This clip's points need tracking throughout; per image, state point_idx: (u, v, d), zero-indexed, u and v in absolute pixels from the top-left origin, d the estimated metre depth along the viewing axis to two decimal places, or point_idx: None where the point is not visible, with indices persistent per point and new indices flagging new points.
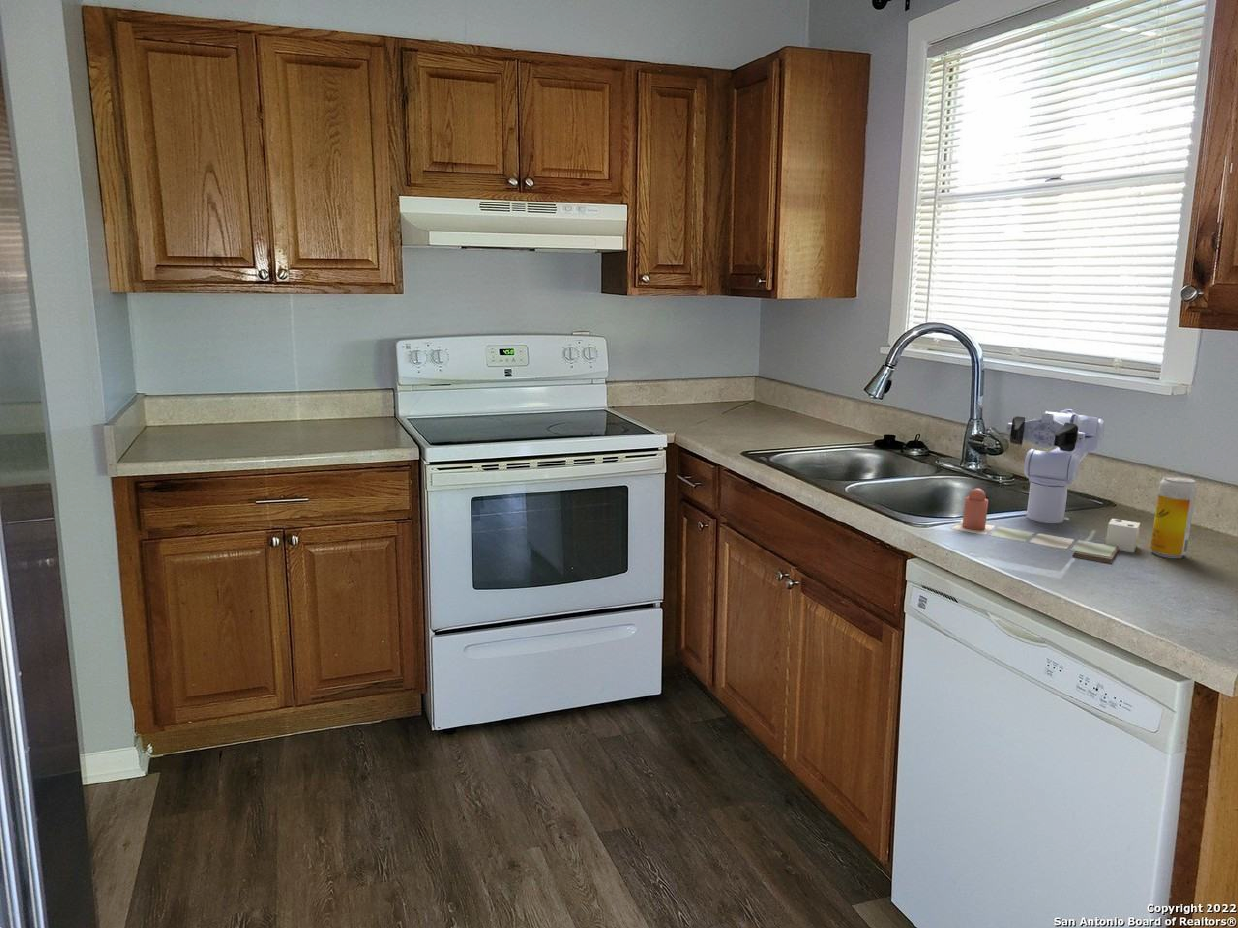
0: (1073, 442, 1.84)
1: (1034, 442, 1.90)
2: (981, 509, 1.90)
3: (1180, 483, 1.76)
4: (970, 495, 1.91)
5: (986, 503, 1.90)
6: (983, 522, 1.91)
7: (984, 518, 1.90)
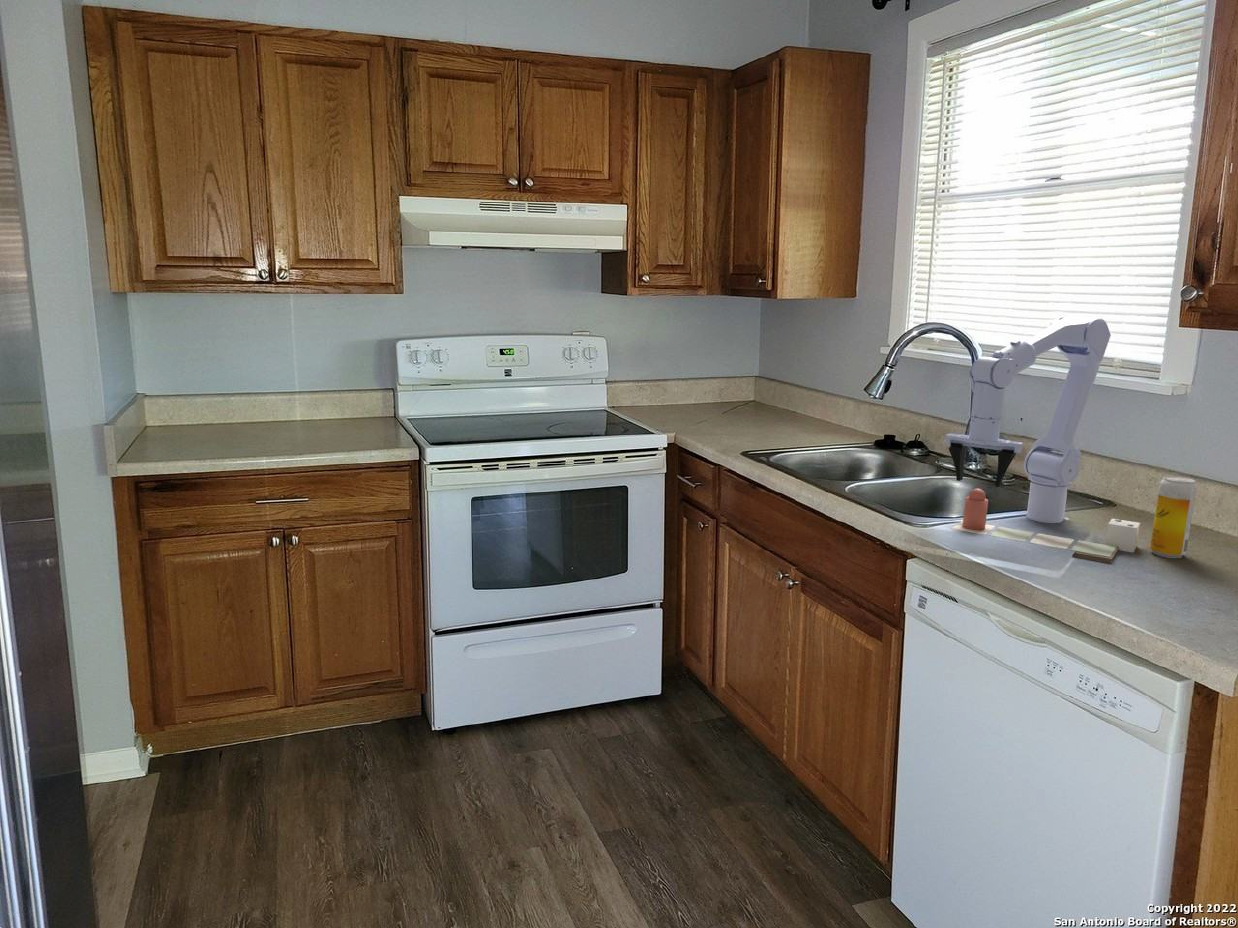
0: None
1: None
2: (981, 509, 1.90)
3: (1180, 483, 1.76)
4: (970, 495, 1.91)
5: (986, 503, 1.90)
6: (983, 522, 1.91)
7: (984, 518, 1.90)
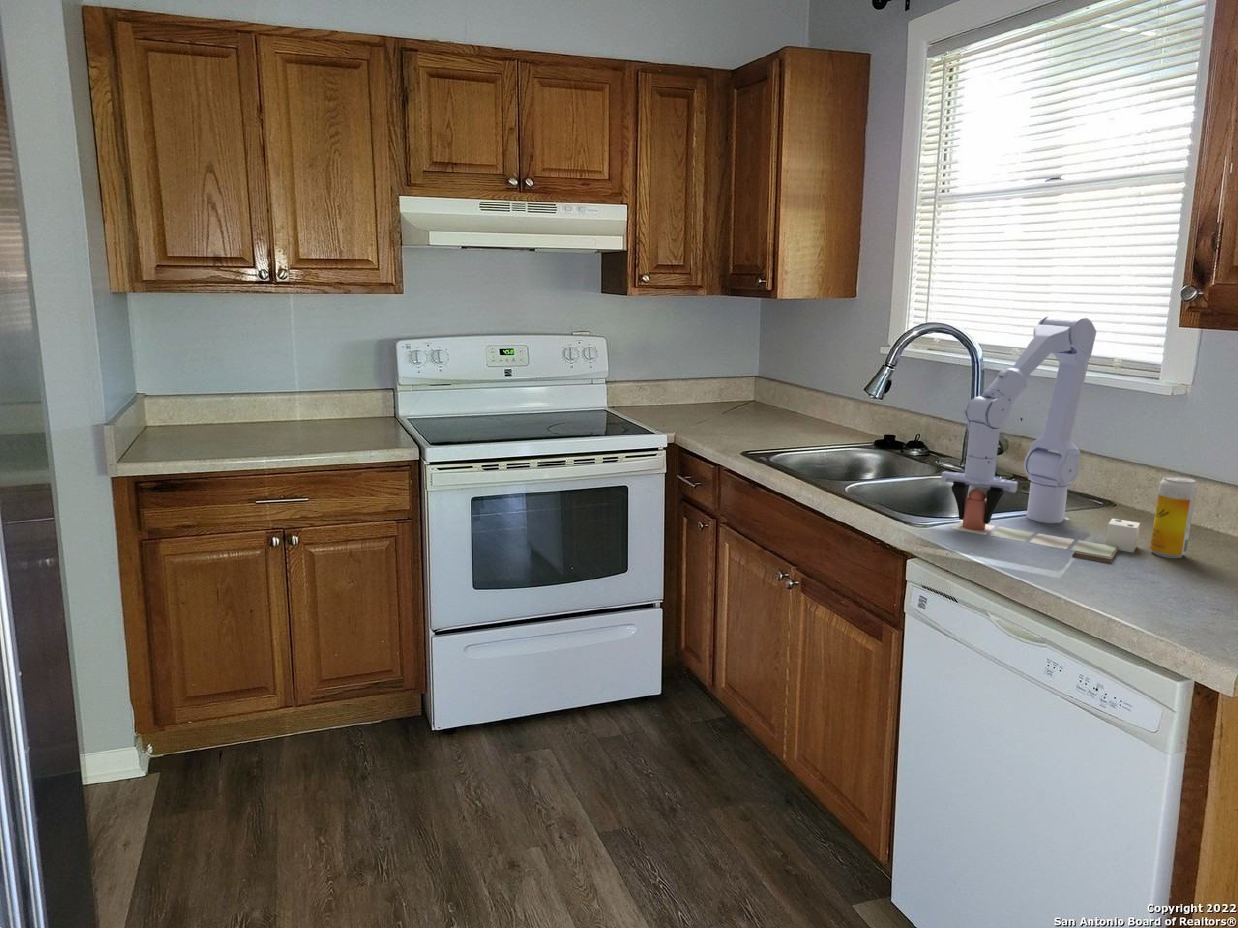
0: (1001, 493, 1.89)
1: None
2: (981, 509, 1.90)
3: (1180, 483, 1.76)
4: (970, 495, 1.91)
5: None
6: (983, 522, 1.91)
7: None
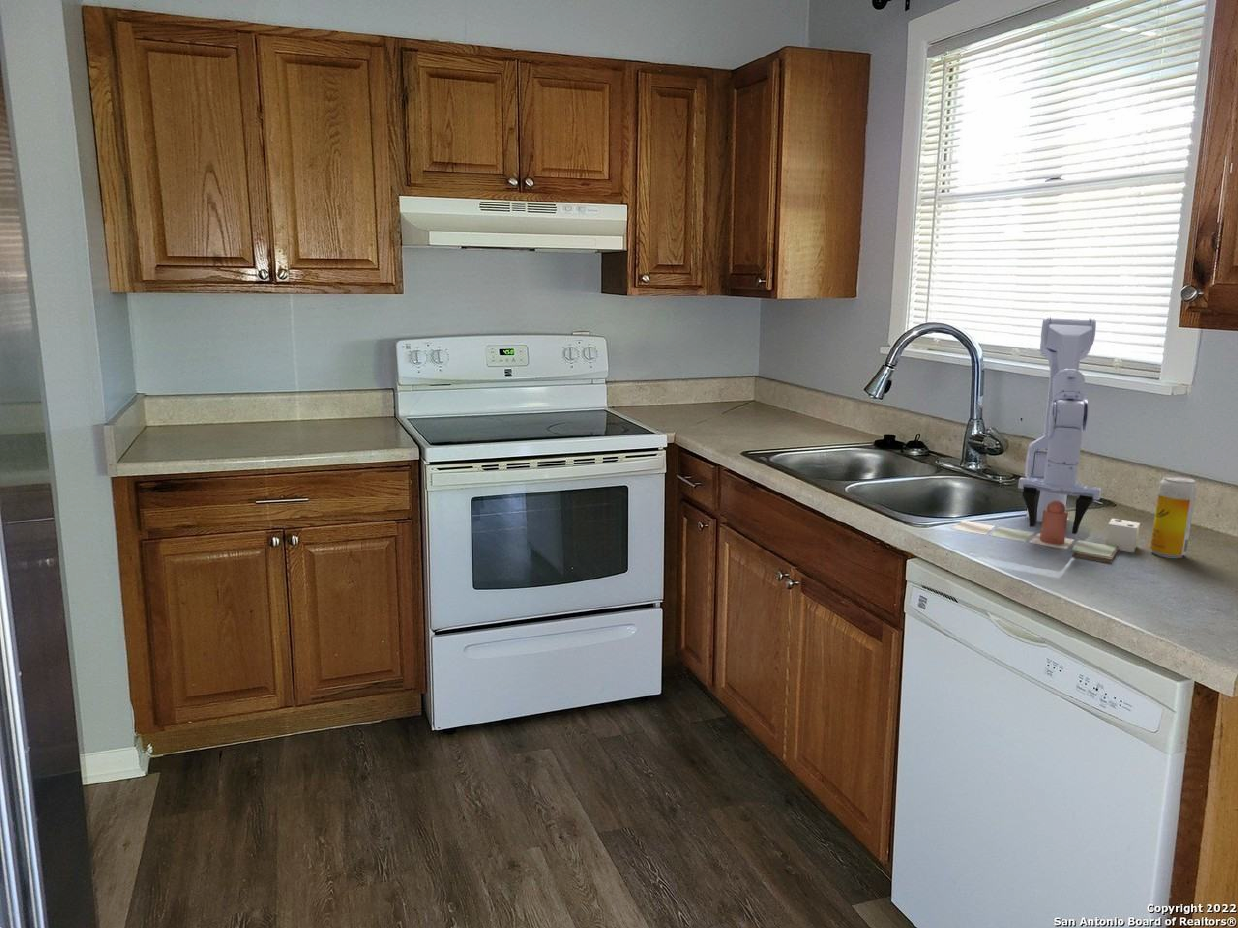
0: (1091, 501, 1.80)
1: None
2: (1061, 522, 1.81)
3: (1180, 483, 1.76)
4: (1049, 507, 1.82)
5: (1066, 516, 1.81)
6: (1063, 536, 1.82)
7: (1064, 531, 1.82)
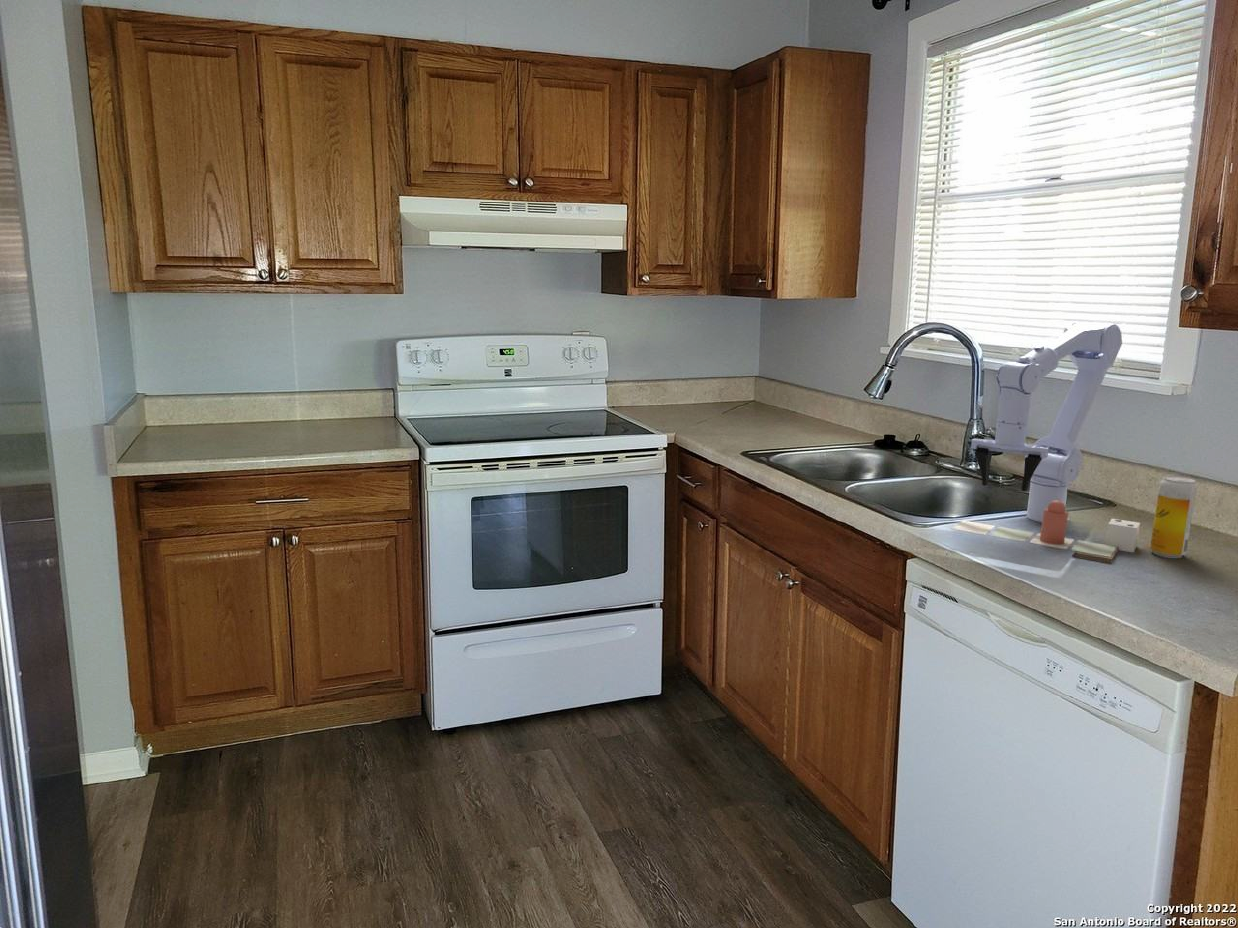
0: (1039, 460, 1.88)
1: None
2: (1062, 522, 1.81)
3: (1180, 483, 1.76)
4: (1049, 507, 1.82)
5: (1066, 516, 1.81)
6: (1063, 536, 1.82)
7: (1064, 531, 1.82)
